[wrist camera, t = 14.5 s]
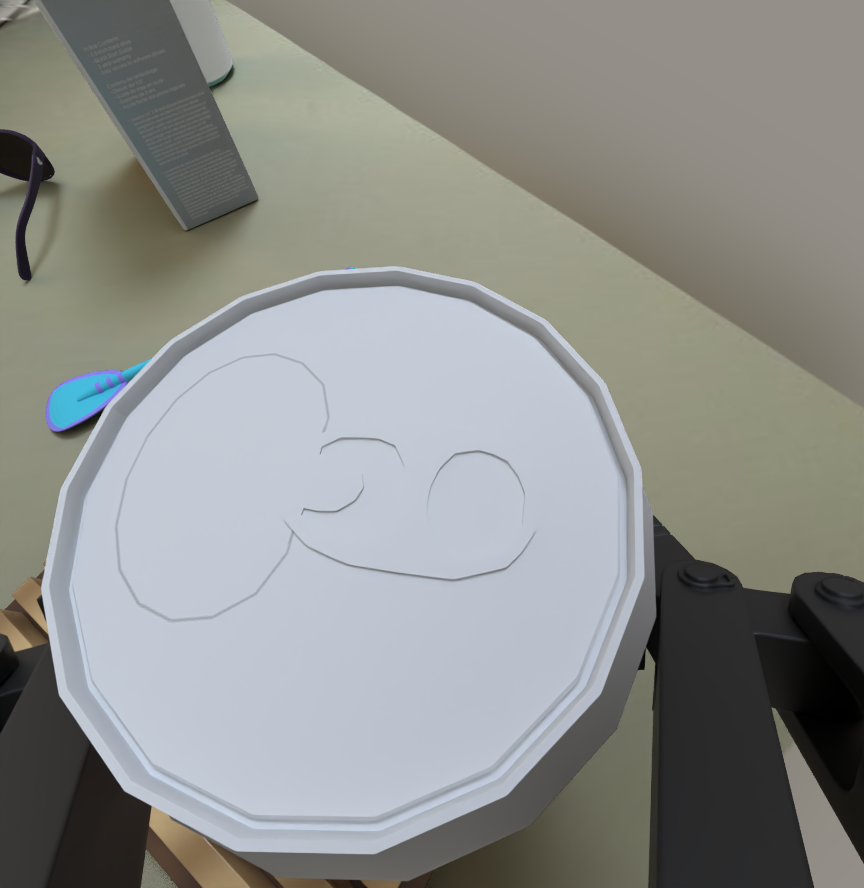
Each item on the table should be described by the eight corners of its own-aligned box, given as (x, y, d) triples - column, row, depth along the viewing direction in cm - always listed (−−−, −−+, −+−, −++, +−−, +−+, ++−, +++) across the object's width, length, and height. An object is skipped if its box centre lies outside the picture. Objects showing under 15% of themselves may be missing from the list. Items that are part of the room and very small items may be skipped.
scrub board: (571, 607, 25) (582, 599, 23) (338, 1038, 19) (316, 1098, 16) (239, 393, 34) (219, 369, 31) (-4, 644, 27) (-56, 640, 24)
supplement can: (309, 716, 18) (-189, 830, 4) (360, 509, 21) (171, 224, 8) (527, 762, 17) (751, 1111, 3) (542, 536, 20) (680, 252, 7)
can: (180, 99, 52) (104, -51, 41) (170, 70, 55) (97, -77, 44) (241, 80, 53) (182, -72, 42) (228, 52, 56) (170, -96, 45)
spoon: (53, 443, 33) (39, 436, 32) (42, 403, 34) (28, 394, 33) (363, 281, 37) (360, 270, 36) (339, 252, 39) (336, 240, 38)
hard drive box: (140, 149, 48) (-55, -160, 30) (210, 121, 49) (62, -191, 32) (184, 235, 42) (-32, -95, 24) (263, 200, 43) (114, -137, 25)
